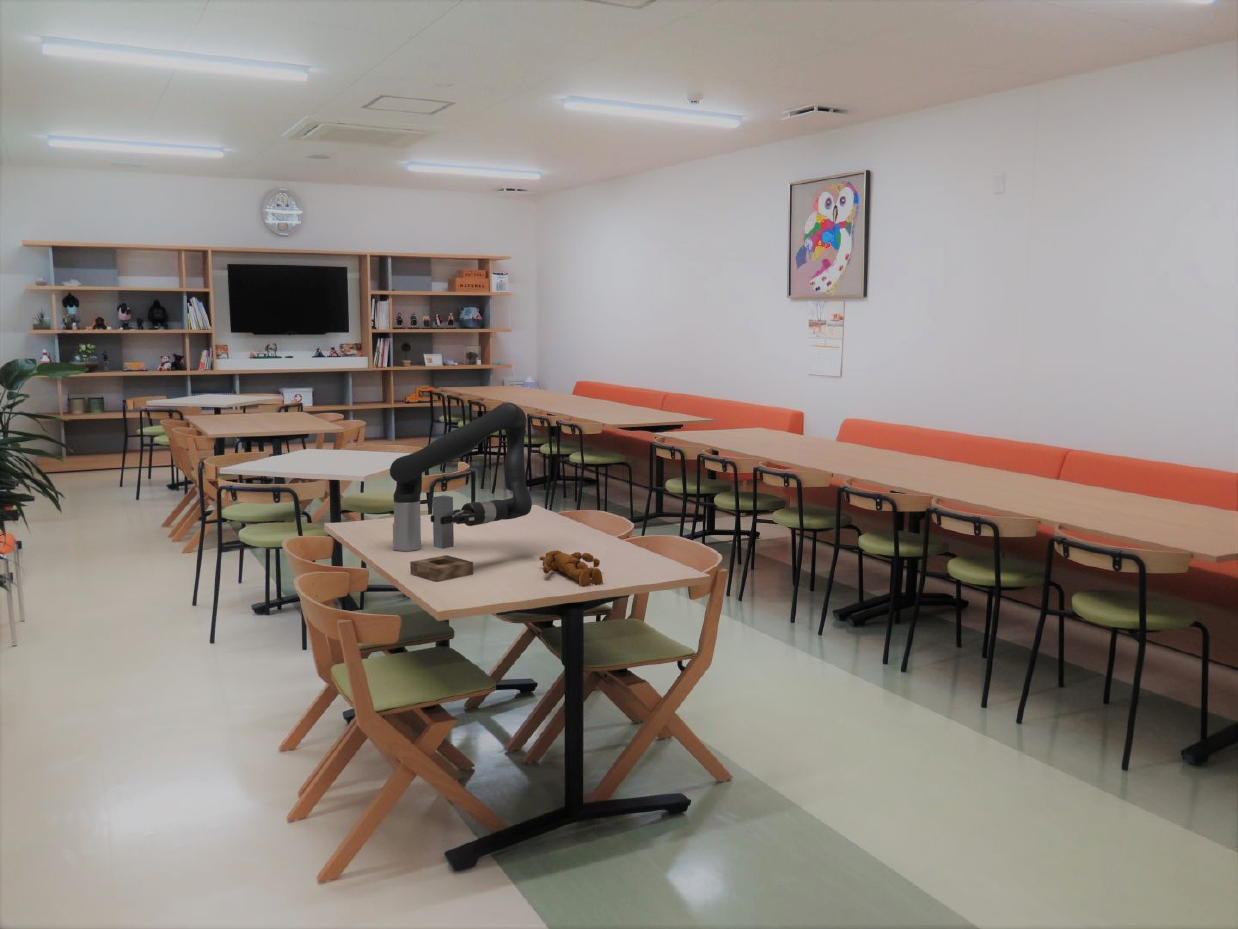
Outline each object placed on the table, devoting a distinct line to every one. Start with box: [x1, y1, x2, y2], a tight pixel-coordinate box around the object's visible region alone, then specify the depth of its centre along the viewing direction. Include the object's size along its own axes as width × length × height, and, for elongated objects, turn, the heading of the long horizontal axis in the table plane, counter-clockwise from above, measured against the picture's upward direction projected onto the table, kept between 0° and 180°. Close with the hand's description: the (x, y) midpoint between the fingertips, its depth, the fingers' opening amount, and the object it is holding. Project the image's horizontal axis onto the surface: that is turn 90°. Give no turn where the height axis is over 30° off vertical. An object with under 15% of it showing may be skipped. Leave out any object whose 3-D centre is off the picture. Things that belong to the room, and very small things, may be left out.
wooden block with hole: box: [409, 554, 474, 583], centre depth 312 cm, size 14×14×4 cm
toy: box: [539, 549, 604, 587], centre depth 312 cm, size 20×7×30 cm
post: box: [432, 494, 455, 550], centre depth 310 cm, size 4×4×16 cm
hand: (436, 519), depth 308 cm, fingers closed on post, 4 cm apart
